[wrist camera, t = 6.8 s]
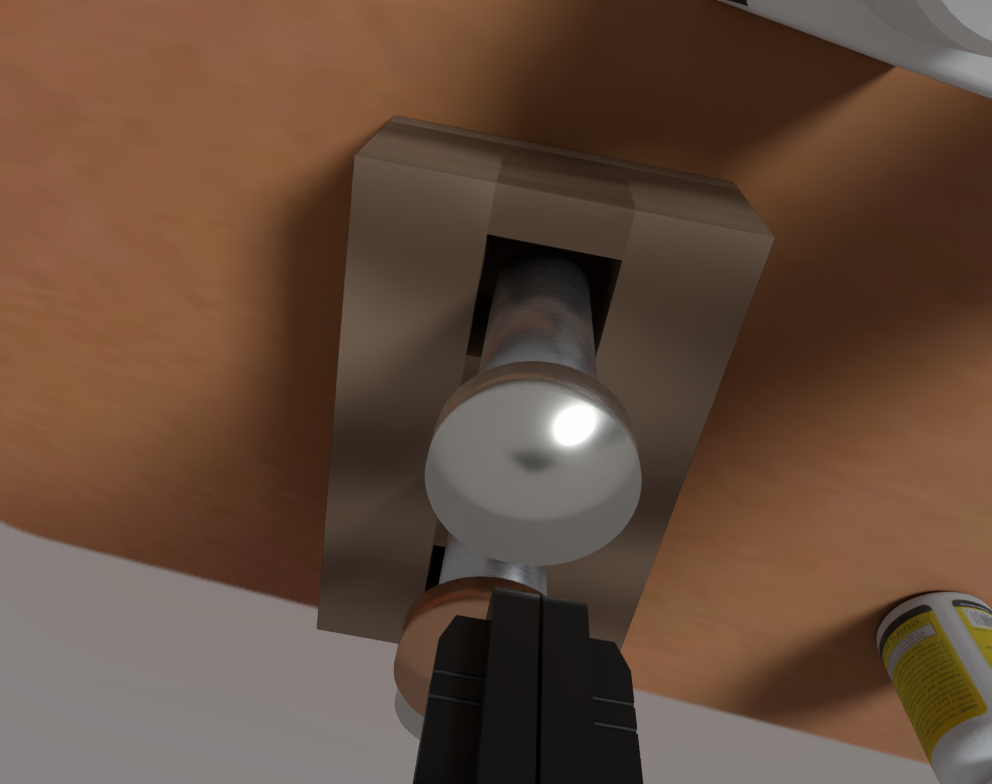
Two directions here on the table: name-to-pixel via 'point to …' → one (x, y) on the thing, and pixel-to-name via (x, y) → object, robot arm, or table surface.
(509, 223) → the mount
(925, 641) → the supplement bottle
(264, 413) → the table surface
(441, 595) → the copper and grey cylinder
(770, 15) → the medicine bottle
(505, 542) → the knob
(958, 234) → the table surface
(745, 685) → the table surface
